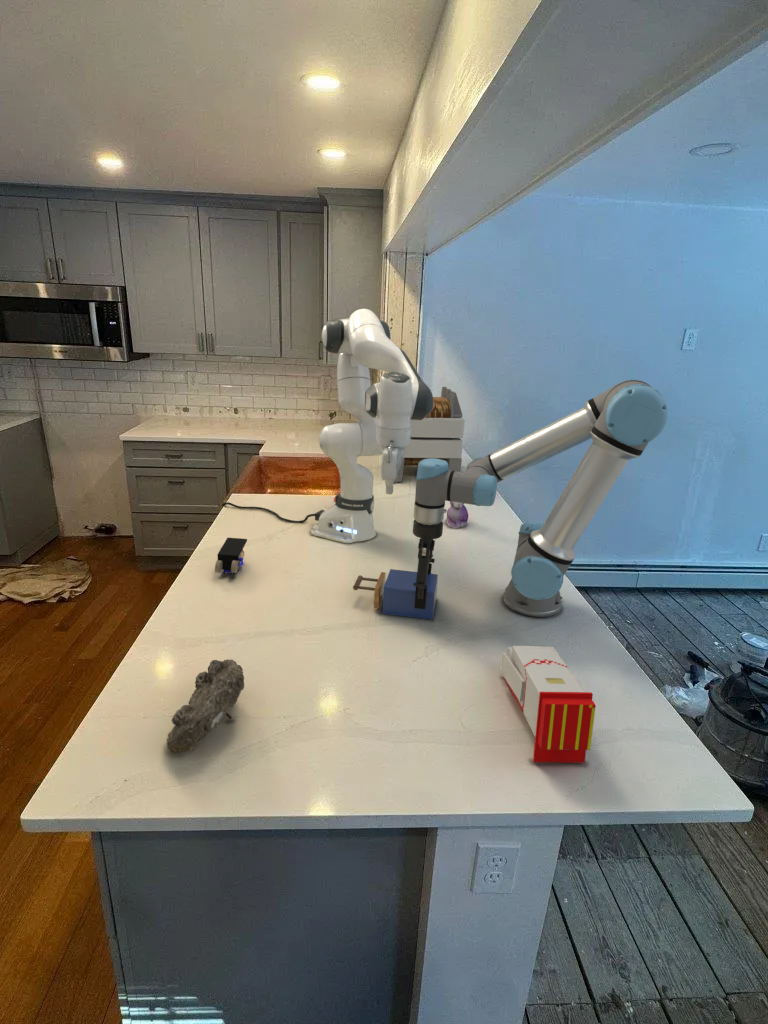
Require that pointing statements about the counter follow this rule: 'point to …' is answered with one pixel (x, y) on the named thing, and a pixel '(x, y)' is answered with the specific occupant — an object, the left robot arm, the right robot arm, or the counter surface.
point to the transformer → (437, 434)
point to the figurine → (457, 515)
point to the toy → (550, 702)
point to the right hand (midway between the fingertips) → (422, 596)
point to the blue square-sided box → (408, 595)
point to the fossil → (206, 705)
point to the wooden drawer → (377, 589)
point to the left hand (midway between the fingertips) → (391, 488)
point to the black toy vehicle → (230, 556)
